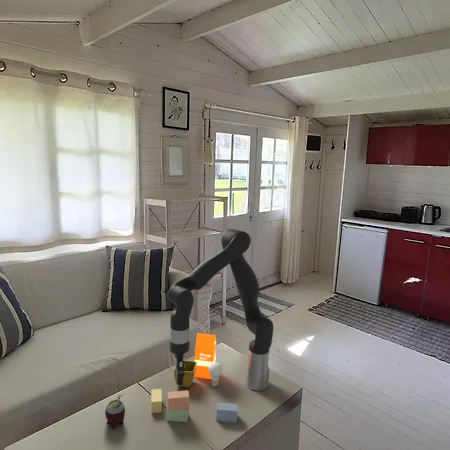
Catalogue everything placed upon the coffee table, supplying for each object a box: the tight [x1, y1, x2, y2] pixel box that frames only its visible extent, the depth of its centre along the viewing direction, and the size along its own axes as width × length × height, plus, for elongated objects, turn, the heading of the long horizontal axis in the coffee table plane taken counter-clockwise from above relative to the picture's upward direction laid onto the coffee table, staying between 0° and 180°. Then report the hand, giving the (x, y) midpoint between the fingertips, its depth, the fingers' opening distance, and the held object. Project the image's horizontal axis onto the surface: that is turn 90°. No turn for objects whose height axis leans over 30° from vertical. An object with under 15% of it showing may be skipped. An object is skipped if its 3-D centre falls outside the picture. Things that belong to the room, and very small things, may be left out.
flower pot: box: [173, 359, 197, 388], centre depth 158 cm, size 9×9×9 cm
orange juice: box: [194, 332, 217, 380], centre depth 166 cm, size 8×9×20 cm
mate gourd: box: [104, 393, 126, 430], centre depth 131 cm, size 8×8×15 cm
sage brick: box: [166, 405, 190, 423], centre depth 137 cm, size 8×4×5 cm, turn 88°
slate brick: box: [215, 402, 239, 423], centre depth 138 cm, size 8×4×5 cm, turn 87°
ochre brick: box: [150, 388, 163, 414], centre depth 143 cm, size 8×4×5 cm, turn 12°
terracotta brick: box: [166, 389, 190, 411], centre depth 136 cm, size 8×4×5 cm, turn 102°
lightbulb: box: [208, 361, 224, 387], centre depth 158 cm, size 6×6×11 cm
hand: (179, 377), depth 135 cm, fingers open, 8 cm apart
